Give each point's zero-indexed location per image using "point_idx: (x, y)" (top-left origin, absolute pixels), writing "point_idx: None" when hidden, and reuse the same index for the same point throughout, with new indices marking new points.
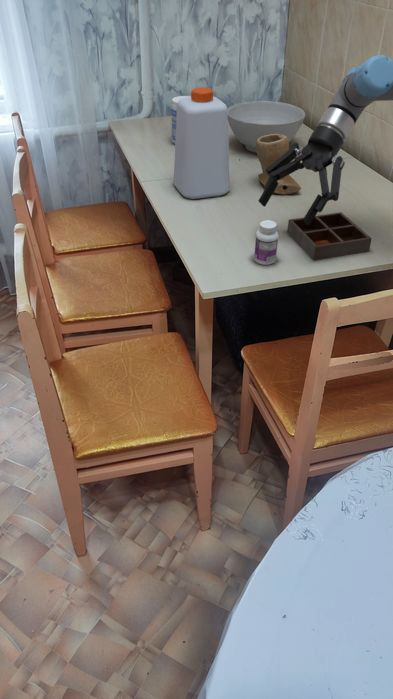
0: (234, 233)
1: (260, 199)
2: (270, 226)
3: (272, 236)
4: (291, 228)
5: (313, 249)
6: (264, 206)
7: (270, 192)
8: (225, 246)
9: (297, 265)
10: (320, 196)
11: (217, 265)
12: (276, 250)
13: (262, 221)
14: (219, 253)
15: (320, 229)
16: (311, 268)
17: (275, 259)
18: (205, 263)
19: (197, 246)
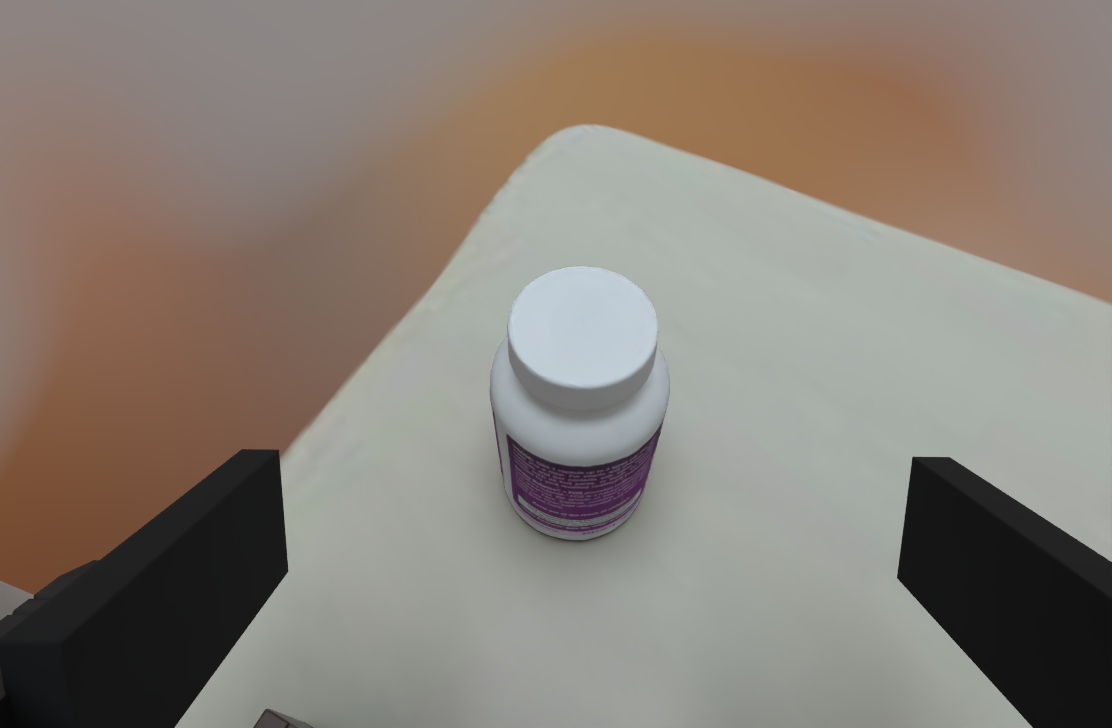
0: None
1: (942, 464)
2: (538, 302)
3: (507, 344)
4: None
5: (300, 726)
6: (905, 578)
7: (1001, 622)
8: (864, 429)
9: (369, 572)
10: (11, 637)
11: (711, 265)
12: (502, 460)
13: (652, 324)
14: (811, 350)
15: None
16: (268, 611)
17: (506, 490)
18: (766, 242)
19: (953, 323)
